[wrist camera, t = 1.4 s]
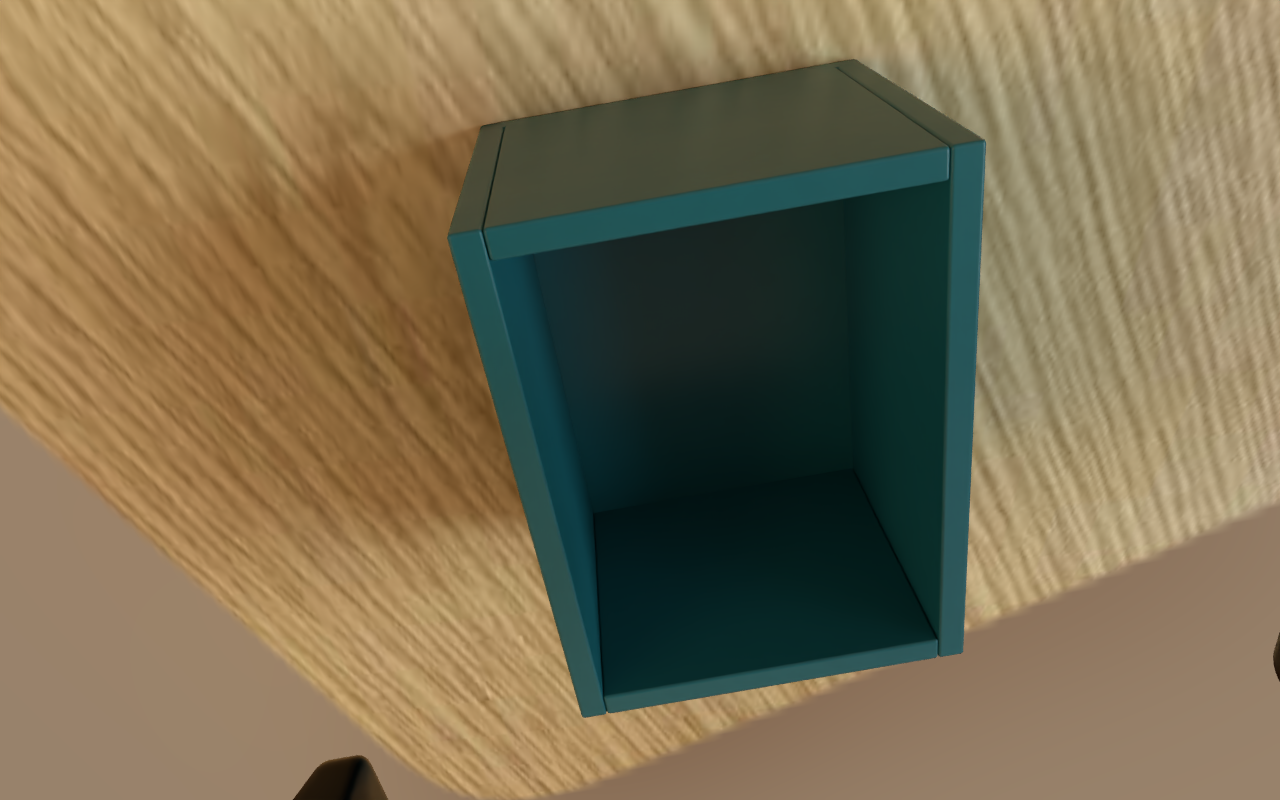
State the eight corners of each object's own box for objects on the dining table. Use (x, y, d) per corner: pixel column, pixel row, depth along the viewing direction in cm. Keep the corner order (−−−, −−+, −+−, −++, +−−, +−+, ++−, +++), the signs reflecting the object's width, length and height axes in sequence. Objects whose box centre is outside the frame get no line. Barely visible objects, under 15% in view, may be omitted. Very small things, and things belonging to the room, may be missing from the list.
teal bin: (855, 58, 14) (988, 139, 10) (867, 469, 18) (964, 654, 14) (480, 125, 14) (445, 235, 10) (576, 519, 18) (582, 719, 14)
